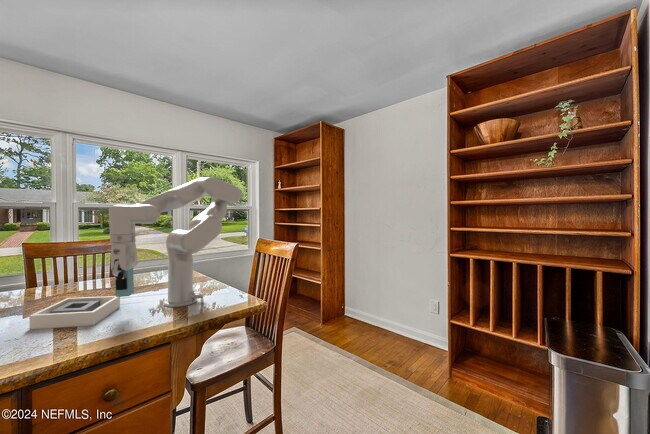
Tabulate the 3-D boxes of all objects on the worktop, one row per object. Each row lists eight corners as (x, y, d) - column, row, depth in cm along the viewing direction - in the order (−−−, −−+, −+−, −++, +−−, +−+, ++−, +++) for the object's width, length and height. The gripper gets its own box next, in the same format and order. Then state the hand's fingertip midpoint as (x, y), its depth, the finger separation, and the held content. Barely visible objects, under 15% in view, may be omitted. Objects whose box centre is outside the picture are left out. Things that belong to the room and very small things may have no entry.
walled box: (120, 306, 111) (120, 295, 111) (93, 325, 93) (93, 312, 93) (67, 309, 107) (67, 298, 107) (29, 329, 89) (29, 315, 89)
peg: (134, 292, 104) (133, 266, 103) (128, 296, 99) (127, 269, 99) (121, 293, 103) (120, 267, 102) (115, 297, 98) (114, 269, 98)
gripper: (123, 241, 93) (125, 294, 94) (144, 235, 109) (145, 280, 110) (97, 242, 91) (100, 296, 92) (122, 236, 107) (124, 281, 108)
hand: (124, 287), depth 101 cm, fingers closed on peg, 4 cm apart
